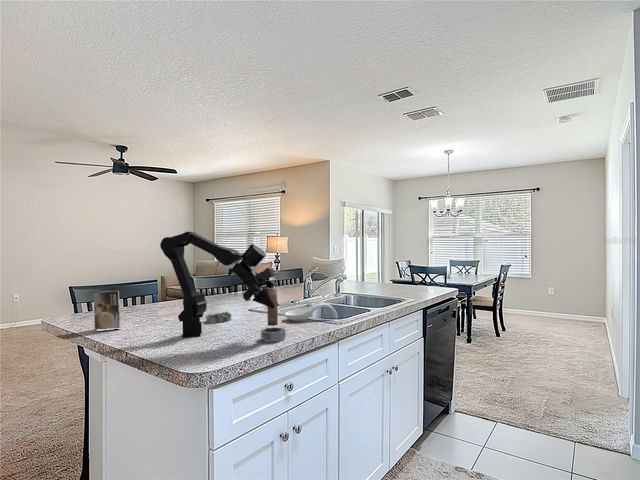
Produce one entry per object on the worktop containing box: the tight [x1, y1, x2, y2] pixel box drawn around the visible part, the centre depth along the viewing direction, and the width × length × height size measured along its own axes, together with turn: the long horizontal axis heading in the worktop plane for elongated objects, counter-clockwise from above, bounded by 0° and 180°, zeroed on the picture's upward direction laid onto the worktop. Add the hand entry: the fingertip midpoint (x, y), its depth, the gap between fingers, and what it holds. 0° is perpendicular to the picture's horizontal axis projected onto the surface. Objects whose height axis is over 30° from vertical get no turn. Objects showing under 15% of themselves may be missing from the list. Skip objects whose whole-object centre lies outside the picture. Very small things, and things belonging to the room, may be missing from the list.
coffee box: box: [93, 289, 121, 331], centre depth 158 cm, size 9×6×16 cm
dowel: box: [266, 287, 279, 327], centre depth 137 cm, size 4×4×13 cm
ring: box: [260, 326, 287, 343], centre depth 137 cm, size 8×8×3 cm
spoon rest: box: [284, 302, 338, 322], centre depth 171 cm, size 24×12×7 cm, turn 99°
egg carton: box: [205, 310, 233, 324], centre depth 172 cm, size 11×8×4 cm
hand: (275, 306), depth 137 cm, fingers closed on dowel, 4 cm apart
